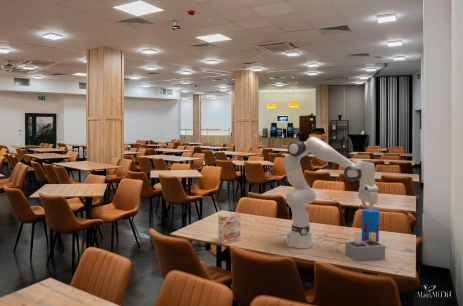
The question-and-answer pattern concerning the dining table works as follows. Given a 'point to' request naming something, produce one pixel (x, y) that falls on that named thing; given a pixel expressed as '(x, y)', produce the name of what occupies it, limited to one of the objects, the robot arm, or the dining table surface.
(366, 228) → the thermos
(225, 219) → the coffeecake box
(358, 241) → the nylon peg
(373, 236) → the brass peg
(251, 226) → the dining table surface
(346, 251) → the socket block
